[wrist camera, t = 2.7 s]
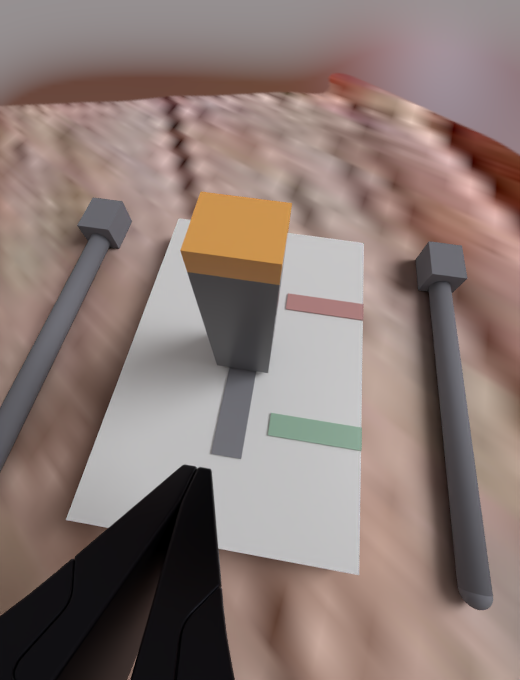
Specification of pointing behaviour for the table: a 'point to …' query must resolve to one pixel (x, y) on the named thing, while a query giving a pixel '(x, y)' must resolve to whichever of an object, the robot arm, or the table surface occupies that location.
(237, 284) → the breaker lever
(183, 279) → the breaker panel
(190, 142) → the table surface
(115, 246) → the pair of grey rods
